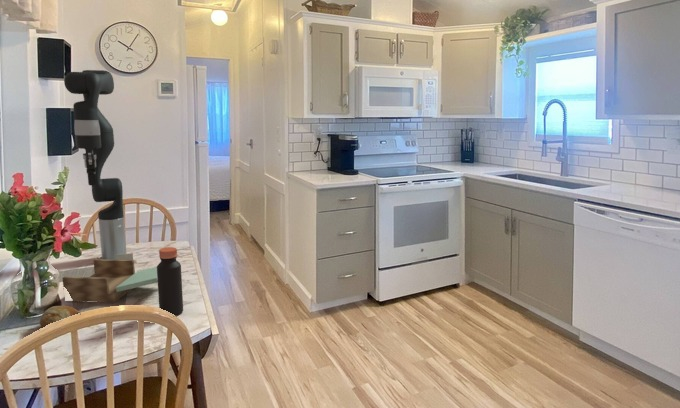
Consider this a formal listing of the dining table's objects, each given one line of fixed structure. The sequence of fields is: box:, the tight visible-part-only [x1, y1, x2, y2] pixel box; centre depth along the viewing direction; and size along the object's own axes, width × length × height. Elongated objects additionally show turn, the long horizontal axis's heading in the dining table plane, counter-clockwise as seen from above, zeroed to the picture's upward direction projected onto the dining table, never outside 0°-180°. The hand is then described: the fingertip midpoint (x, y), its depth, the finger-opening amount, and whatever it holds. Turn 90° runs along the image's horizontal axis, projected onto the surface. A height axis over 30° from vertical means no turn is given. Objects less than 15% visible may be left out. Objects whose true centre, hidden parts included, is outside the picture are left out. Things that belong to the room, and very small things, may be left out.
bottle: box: [156, 246, 184, 316], centre depth 140 cm, size 7×7×20 cm
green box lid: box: [116, 266, 158, 292], centre depth 157 cm, size 2×16×14 cm
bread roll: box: [38, 305, 80, 330], centre depth 132 cm, size 10×10×8 cm
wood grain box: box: [62, 258, 136, 303], centre depth 158 cm, size 16×19×8 cm
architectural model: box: [117, 252, 138, 264], centre depth 179 cm, size 3×7×7 cm, turn 116°
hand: (92, 184), depth 160 cm, fingers closed
